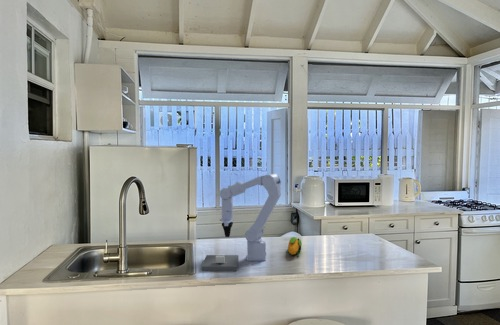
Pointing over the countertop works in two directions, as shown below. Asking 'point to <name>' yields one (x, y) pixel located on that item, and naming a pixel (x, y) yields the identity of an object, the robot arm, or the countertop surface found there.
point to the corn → (294, 246)
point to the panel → (228, 265)
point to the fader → (220, 258)
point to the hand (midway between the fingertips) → (227, 236)
